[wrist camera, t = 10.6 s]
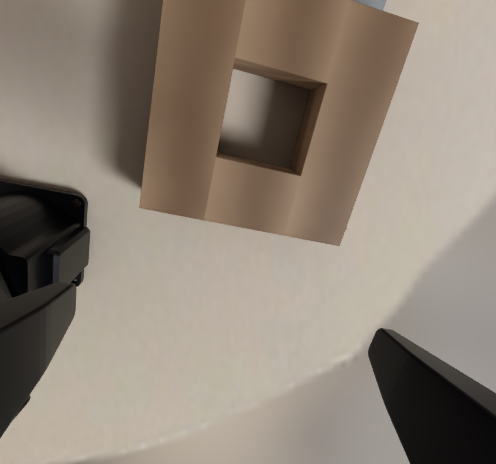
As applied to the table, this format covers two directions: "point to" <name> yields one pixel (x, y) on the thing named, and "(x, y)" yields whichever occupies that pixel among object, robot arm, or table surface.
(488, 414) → the robot arm
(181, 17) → the socket block
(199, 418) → the table surface
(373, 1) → the mat
